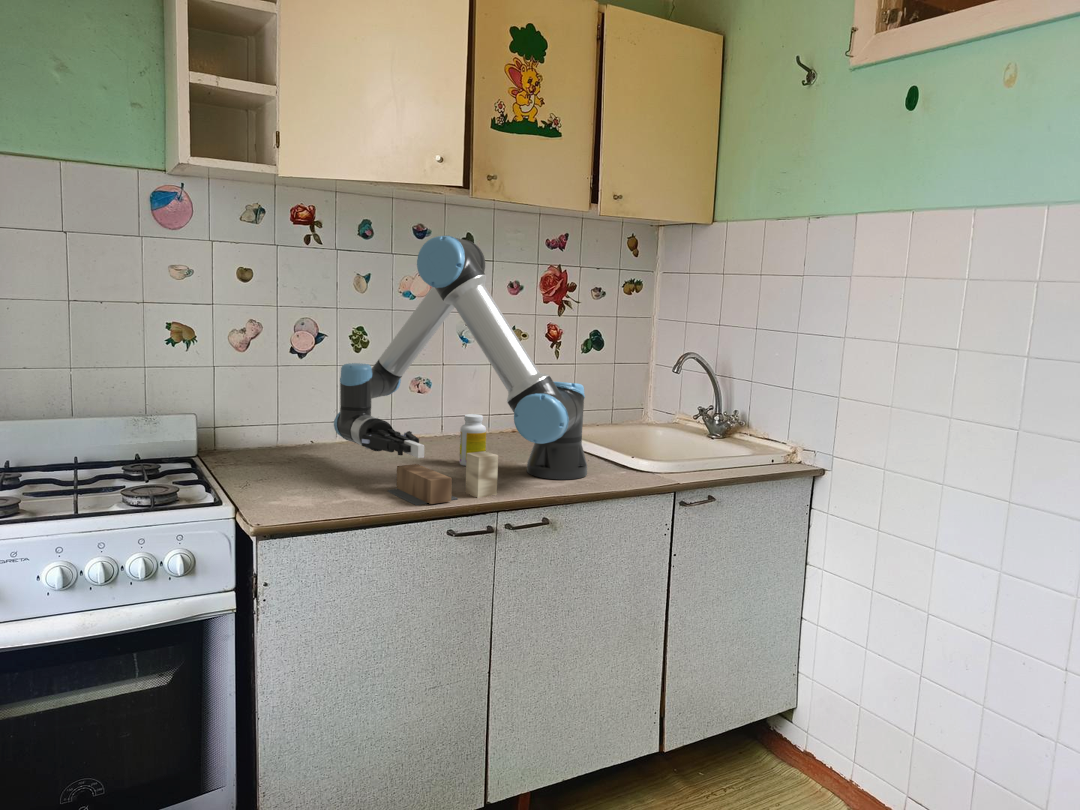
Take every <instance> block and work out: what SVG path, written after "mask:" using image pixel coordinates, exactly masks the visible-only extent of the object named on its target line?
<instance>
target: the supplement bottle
mask: <svg viewBox="0 0 1080 810" xmlns="http://www.w3.org/2000/svg"><path fill="white" fill-rule="evenodd" d="M483 421H484V415H482V414H475V413H468V414H464V424H462V425H461V426H460V430H459V431H460V432H459V433H460V434H459V438H460V439H459V440H460V441H459V464H460V465H461V466H463V467H466V457H467V453H472V452H482V451H487V449H486V448H487V427H486V426H485V425H483V424H482V423H483Z"/></svg>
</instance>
